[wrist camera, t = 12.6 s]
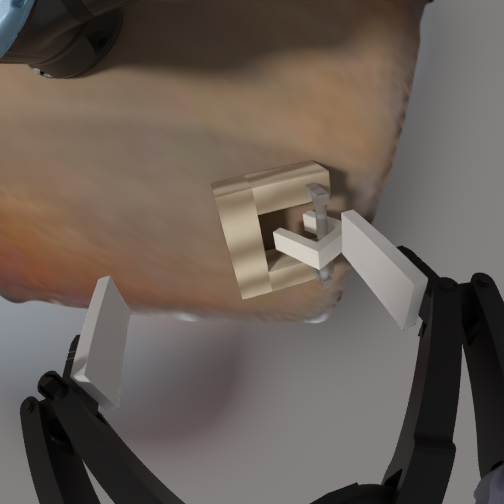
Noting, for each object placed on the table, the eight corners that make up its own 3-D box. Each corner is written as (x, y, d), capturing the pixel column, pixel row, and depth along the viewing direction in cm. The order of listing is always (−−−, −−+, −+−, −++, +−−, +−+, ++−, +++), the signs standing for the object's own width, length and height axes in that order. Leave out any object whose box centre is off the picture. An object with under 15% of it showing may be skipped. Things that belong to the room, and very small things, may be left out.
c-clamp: (211, 184, 42) (218, 211, 33) (312, 160, 43) (343, 181, 34) (236, 277, 52) (247, 318, 43) (320, 254, 53) (345, 288, 44)
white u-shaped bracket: (273, 232, 42) (318, 251, 36) (309, 210, 46) (353, 225, 40) (275, 249, 44) (319, 270, 38) (310, 226, 47) (353, 242, 41)
